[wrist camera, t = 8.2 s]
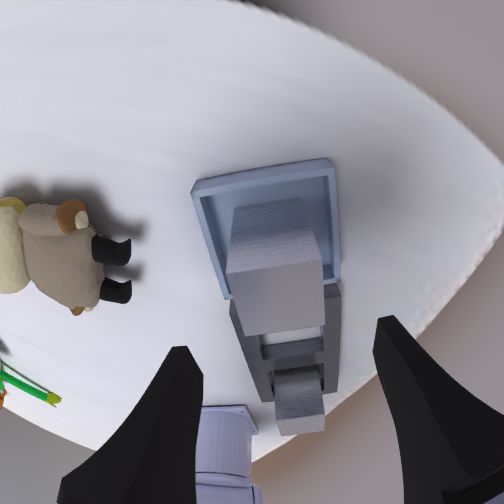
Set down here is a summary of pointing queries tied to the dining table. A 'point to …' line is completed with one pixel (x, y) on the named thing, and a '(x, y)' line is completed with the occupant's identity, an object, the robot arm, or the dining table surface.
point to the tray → (267, 190)
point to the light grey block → (275, 268)
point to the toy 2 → (59, 254)
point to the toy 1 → (25, 389)
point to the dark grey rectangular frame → (295, 349)
